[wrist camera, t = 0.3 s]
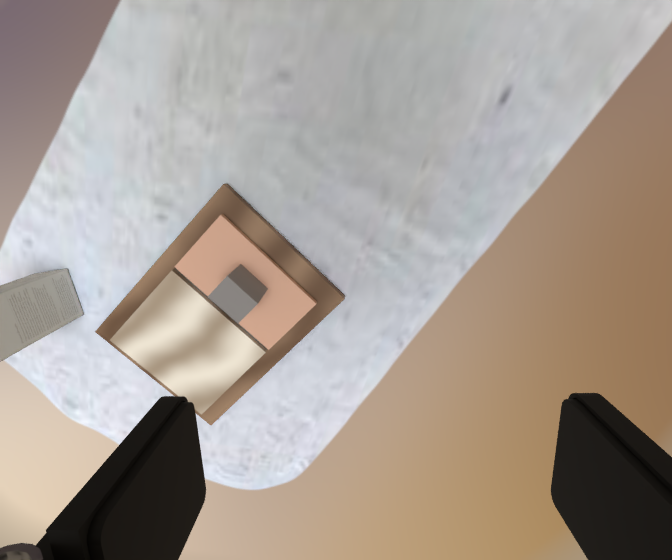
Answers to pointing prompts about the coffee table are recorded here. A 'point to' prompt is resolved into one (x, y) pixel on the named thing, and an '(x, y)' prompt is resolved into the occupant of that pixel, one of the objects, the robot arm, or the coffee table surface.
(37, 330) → the skincare box
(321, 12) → the coffee table surface
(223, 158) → the coffee table surface
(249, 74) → the coffee table surface
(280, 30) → the coffee table surface
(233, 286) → the peach lid with handle
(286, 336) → the board
